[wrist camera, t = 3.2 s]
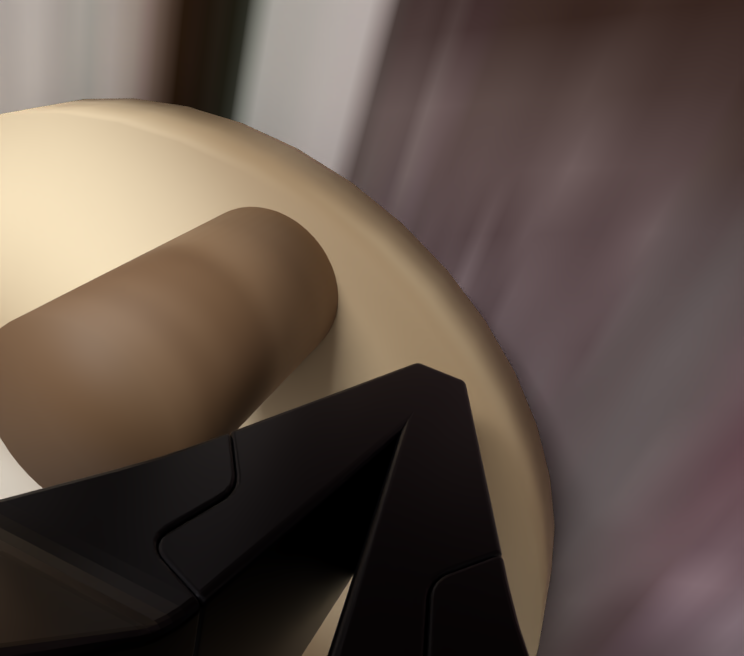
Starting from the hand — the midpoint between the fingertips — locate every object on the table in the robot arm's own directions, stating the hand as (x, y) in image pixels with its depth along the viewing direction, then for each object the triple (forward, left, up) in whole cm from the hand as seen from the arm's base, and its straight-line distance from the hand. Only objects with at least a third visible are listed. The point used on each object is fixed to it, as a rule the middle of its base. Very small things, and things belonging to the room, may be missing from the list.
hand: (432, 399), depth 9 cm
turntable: (-3, +7, -4) cm, 9 cm away
